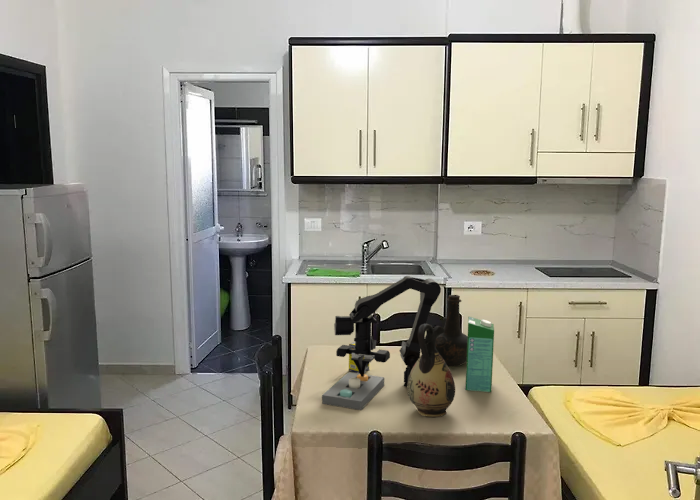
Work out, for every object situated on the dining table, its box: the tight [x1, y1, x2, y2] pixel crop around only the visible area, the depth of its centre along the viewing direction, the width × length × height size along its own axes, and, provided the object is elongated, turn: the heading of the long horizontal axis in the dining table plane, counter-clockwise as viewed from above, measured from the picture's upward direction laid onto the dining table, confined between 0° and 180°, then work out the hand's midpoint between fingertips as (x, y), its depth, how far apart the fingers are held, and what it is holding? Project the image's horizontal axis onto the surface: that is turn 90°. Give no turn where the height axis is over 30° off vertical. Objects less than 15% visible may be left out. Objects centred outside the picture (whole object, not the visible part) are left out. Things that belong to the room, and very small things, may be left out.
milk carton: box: [465, 316, 495, 393], centre depth 217 cm, size 9×9×25 cm
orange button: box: [357, 373, 369, 381], centre depth 218 cm, size 4×4×3 cm
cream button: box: [349, 378, 360, 389], centre depth 210 cm, size 4×4×3 cm
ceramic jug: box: [406, 323, 456, 418], centre depth 194 cm, size 17×15×30 cm
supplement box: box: [348, 341, 370, 374], centre depth 234 cm, size 6×6×11 cm
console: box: [321, 371, 385, 411], centre depth 210 cm, size 14×24×3 cm, turn 158°
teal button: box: [340, 389, 352, 398], centre depth 203 cm, size 4×4×3 cm
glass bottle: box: [435, 294, 468, 367], centre depth 242 cm, size 18×18×28 cm
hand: (362, 376), depth 217 cm, fingers closed, pressing on orange button
